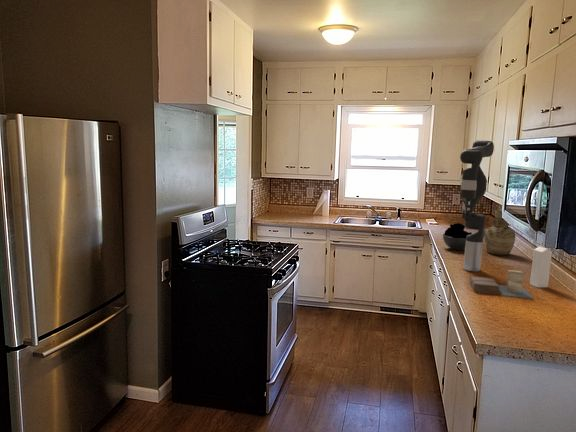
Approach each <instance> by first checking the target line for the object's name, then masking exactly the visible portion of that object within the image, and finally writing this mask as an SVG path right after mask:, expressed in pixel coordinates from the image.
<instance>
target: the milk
mask: <svg viewBox="0 0 576 432" xmlns="http://www.w3.org/2000/svg"><path fill="white" fill-rule="evenodd" d="M552 256H553V251H552V250H550V249H549V247H548V248H545V247H543V246H542V245H538V246H537V247H536V248H534V249H533V256H532V263H531V264H532V265H531V270H530V271H531V272H530V279H529V285H531V286H533V287H536V288H548V286H549V281H550V271H551V265H552Z"/></svg>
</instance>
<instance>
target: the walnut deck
mask: <svg viewBox="0 0 576 432" xmlns="http://www.w3.org/2000/svg"><path fill="white" fill-rule="evenodd" d="M498 285H499V284H498V283H497V282H496V280H495V279H494V278H493V277H484V276H473V275H470V276H469V286H470V287H471V289H472V290H473V292H474V293H480V292H482V294H483V293H484V294H490V293H492V294H493V295H499V292H500V291H499V286H498ZM492 294H491V295H492Z"/></svg>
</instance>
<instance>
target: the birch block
mask: <svg viewBox="0 0 576 432" xmlns="http://www.w3.org/2000/svg"><path fill="white" fill-rule="evenodd" d="M523 279H524V272H523V271H522V270H514V269H513V270H512V269H508V270H507V276H506V285H505V286H506V290H507V291H508V292H517V293H521V290H522V287H523V281H524V280H523Z"/></svg>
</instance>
